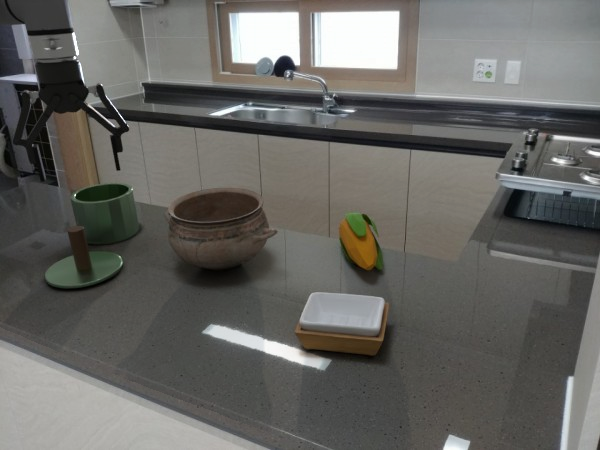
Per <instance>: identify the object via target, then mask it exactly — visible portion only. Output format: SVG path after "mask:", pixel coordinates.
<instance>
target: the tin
mask: <svg viewBox="0 0 600 450" xmlns="http://www.w3.org/2000/svg"><path fill="white" fill-rule="evenodd" d="M70 203H71V207H72V212H73V215H74V221H75V226H83V227H84V232H85V236H86V241H87V245H96V246H98V245H100V246H102V245H110V244H115V243H119V242H122V241H125V240H128V239H130V238H132V237H134V236H135V235H136V234H137V233H138V232H139V230H140V225H139V224H140V223H139V218H138V213H137V207H136V201H135V195H134V191H133V186H131V185H130V184H128V183H122V182H105V183H97V184H92V185H89V186H85V187H83V188H79V189H78V190H76V191H74V192H73V193H72V194H71V195H70Z"/></svg>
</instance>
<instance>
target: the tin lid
mask: <svg viewBox="0 0 600 450" xmlns="http://www.w3.org/2000/svg"><path fill="white" fill-rule="evenodd" d="M67 235H68V239H69V240H68V241H69V244H70V247H71V252H72V255H70V256H67V257H65V258H62V259H61V260H59V261H56V262H54V263H53V264H52V265H50V266H49V267H48V269H46V271H45V274H44V279H45V281H46V283H47V284H48V285H50V286H52V287H54V288H59V289H78V288H85V287H90V286H93V285H97V284H100V283H102V282H105V281H106V280H109V279H110V278H112V277H114V276H115V275H116V274H117V273H119V271H121V269H122V267H123V259H122V257H121V256H120V255H119V254H117V253H114V252H111V251H105V250H96V251H94V250H93V251H89V246H88V245H89V244H87V241H86V236H85V232H84V227H83V226H77V225H75V226H70V227H69V228H67Z"/></svg>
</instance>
